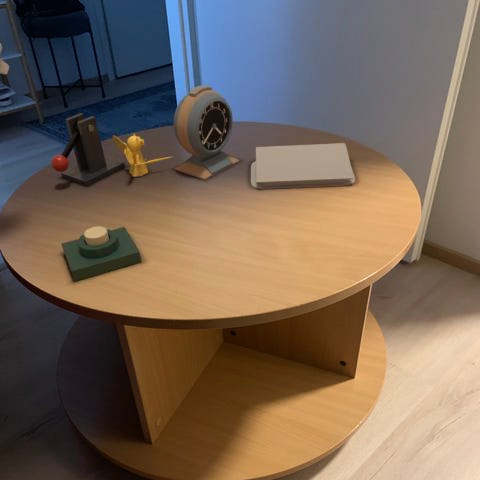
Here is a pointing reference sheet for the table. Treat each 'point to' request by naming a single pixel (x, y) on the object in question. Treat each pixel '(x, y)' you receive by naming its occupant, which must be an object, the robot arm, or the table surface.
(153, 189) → the table surface
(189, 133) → the alarm clock
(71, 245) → the control block
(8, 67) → the robot arm
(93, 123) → the switch bracket
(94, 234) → the button
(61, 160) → the switch lever
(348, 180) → the book
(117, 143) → the figurine
